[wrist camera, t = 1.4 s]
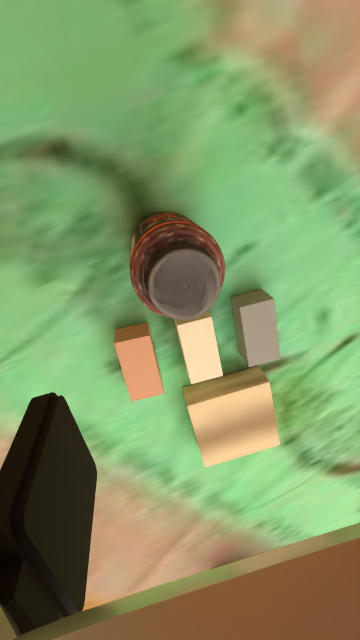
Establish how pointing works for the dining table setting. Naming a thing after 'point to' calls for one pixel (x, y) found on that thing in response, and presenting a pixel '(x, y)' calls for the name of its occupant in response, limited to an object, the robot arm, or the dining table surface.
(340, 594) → the robot arm
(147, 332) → the brick terracotta
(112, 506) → the dining table surface
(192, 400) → the oak slab
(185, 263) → the supplement bottle
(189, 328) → the brick cream
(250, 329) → the brick slate
